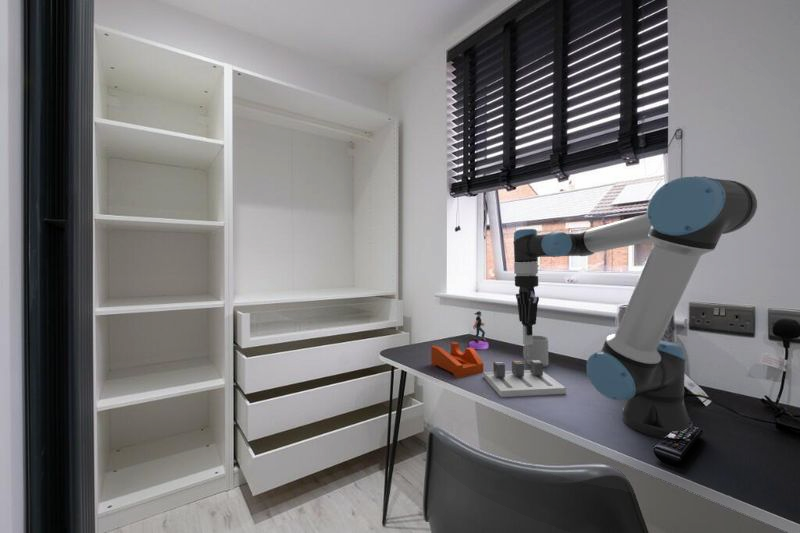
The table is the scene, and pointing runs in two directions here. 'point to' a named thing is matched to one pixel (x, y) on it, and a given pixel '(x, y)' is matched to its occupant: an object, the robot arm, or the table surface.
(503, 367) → the block
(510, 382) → the panel
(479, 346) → the figurine
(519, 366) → the block
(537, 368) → the block
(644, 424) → the robot arm
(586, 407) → the table surface
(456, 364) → the tape dispenser
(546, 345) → the mug
